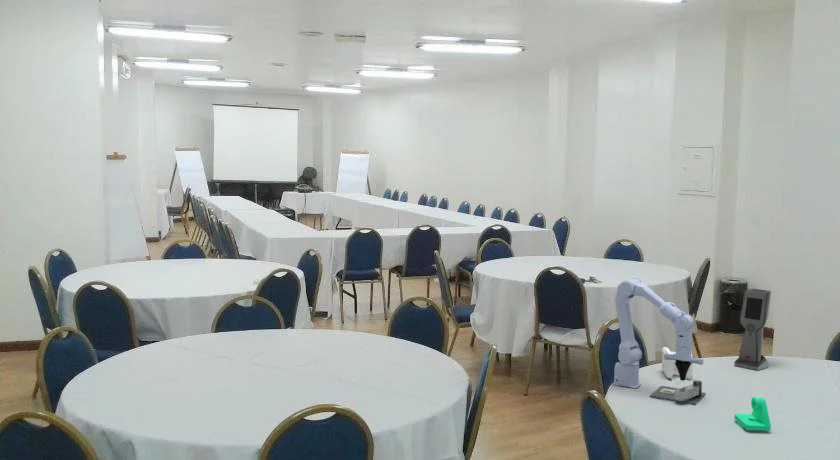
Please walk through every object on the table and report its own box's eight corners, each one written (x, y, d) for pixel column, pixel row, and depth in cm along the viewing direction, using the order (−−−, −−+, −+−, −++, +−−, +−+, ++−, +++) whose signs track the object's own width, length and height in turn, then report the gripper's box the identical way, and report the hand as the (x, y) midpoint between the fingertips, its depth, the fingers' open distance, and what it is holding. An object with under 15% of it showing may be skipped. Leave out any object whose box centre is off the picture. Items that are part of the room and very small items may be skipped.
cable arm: (695, 393, 272) (695, 380, 271) (703, 395, 269) (703, 381, 269) (674, 400, 262) (674, 387, 261) (682, 403, 259) (682, 389, 259)
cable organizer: (693, 381, 291) (693, 354, 290) (666, 380, 293) (667, 353, 292) (685, 372, 306) (685, 346, 305) (660, 371, 308) (661, 345, 307)
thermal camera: (772, 366, 315) (774, 290, 313) (758, 371, 307) (760, 293, 305) (747, 361, 324) (749, 287, 322) (732, 365, 317) (735, 290, 314)
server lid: (649, 397, 269) (649, 395, 269) (661, 387, 282) (661, 385, 282) (695, 405, 259) (695, 403, 259) (705, 394, 272) (705, 392, 272)
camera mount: (733, 421, 243) (734, 392, 242) (755, 421, 242) (756, 392, 241) (746, 433, 231) (747, 403, 230) (770, 433, 230) (771, 403, 229)
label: (659, 392, 273) (659, 391, 273) (663, 389, 277) (663, 388, 277) (672, 394, 270) (672, 393, 270) (676, 391, 274) (676, 390, 274)
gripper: (705, 346, 269) (704, 380, 269) (667, 341, 277) (666, 374, 278) (701, 349, 263) (700, 384, 264) (662, 344, 271) (661, 378, 272)
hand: (682, 379), depth 270 cm, fingers closed
